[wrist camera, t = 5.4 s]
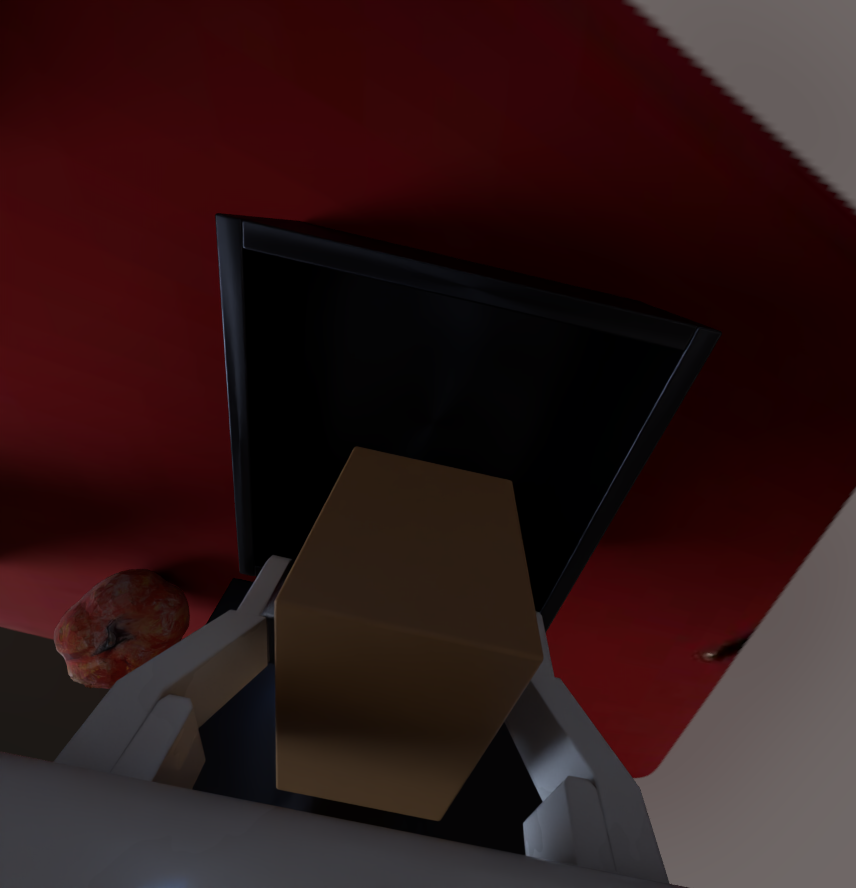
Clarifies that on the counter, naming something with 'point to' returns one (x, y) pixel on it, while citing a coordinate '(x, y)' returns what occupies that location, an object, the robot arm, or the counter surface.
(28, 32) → the counter surface
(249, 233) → the black square open box
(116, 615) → the pomegranate
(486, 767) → the lid
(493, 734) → the packet
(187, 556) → the counter surface
